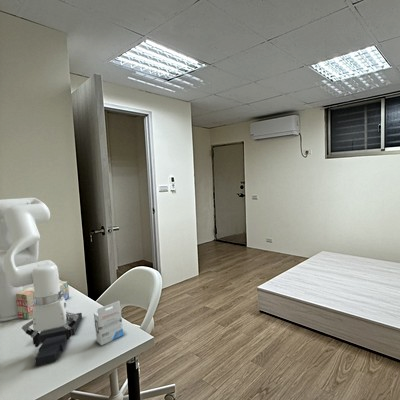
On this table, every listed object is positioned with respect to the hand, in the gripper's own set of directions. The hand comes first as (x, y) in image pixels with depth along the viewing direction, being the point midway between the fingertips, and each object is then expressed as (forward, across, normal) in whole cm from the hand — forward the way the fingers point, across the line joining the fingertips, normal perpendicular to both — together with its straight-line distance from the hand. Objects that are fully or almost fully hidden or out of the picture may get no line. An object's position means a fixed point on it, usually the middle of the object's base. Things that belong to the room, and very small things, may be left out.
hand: (53, 341), depth 100 cm
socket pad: (+3, +1, -14) cm, 15 cm away
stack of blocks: (+2, +15, -42) cm, 45 cm away
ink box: (+3, -19, +2) cm, 19 cm away
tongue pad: (+3, 0, +2) cm, 4 cm away
